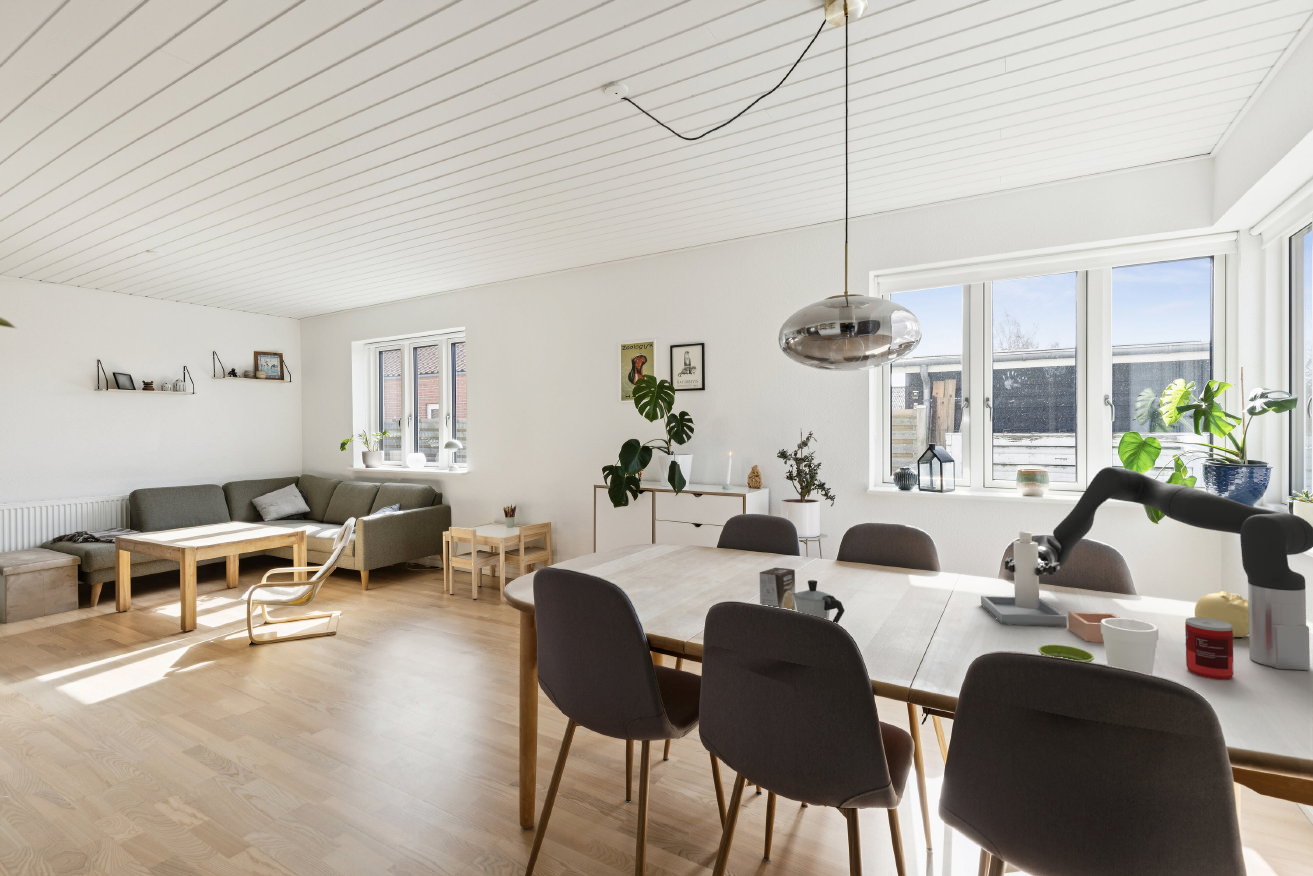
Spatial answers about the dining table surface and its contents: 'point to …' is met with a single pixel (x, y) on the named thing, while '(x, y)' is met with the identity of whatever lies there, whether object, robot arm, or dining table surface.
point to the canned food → (1209, 648)
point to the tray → (1023, 612)
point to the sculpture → (1225, 611)
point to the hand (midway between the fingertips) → (1024, 570)
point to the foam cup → (1130, 643)
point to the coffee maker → (817, 602)
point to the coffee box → (778, 588)
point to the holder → (1088, 624)
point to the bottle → (1026, 571)
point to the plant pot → (1066, 652)
